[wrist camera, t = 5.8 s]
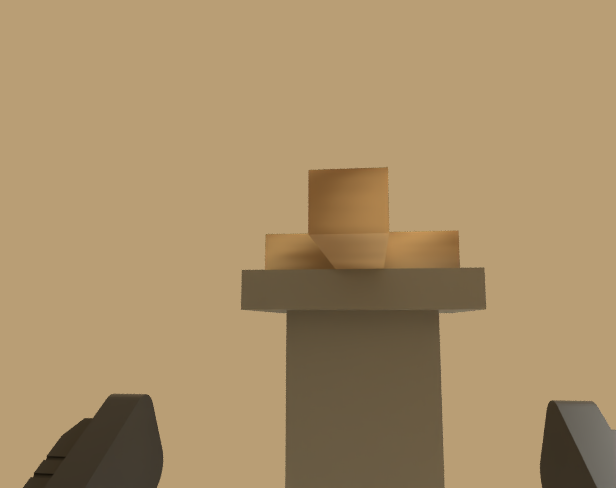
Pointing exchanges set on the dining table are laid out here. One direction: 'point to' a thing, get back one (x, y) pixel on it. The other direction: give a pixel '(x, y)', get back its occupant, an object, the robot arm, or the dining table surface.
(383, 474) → the pedestal
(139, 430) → the robot arm
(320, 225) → the wooden t-shaped block
